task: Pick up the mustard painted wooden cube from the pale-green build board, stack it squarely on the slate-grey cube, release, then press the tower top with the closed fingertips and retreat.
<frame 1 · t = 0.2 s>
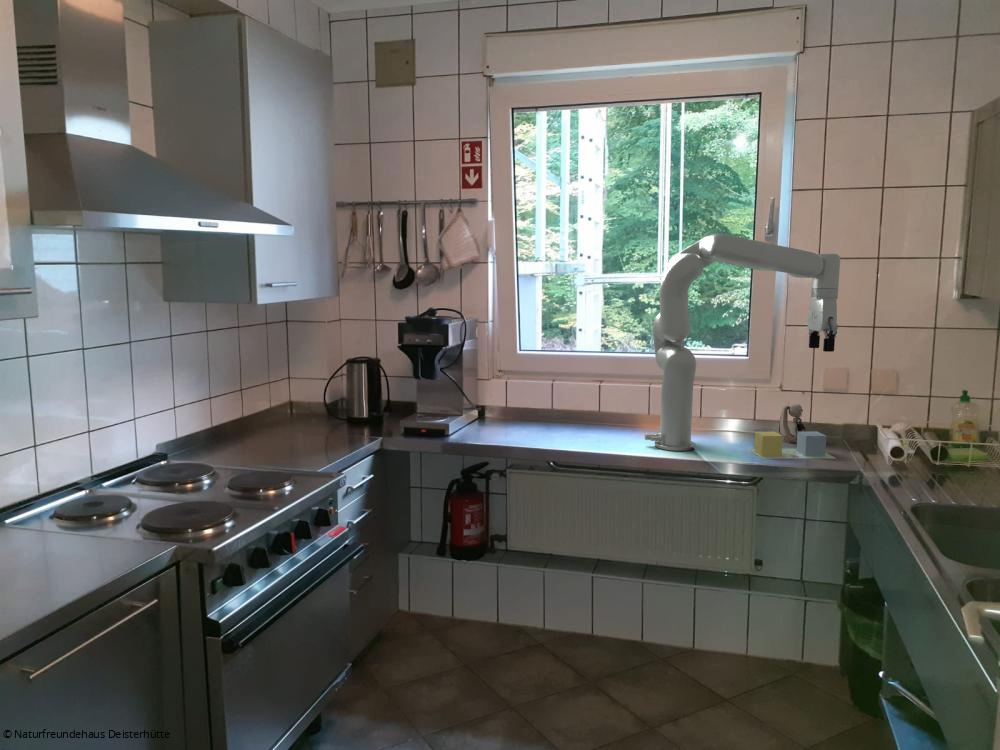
hand: (821, 349, 240), 31 cm above the countertop, fingers open, 9 cm apart
toy: (792, 444, 248), on the countertop
board: (790, 457, 230), on the countertop
base brick: (810, 453, 231), point 1 cm above the countertop, touching board
brick: (767, 453, 230), point 1 cm above the countertop, touching board
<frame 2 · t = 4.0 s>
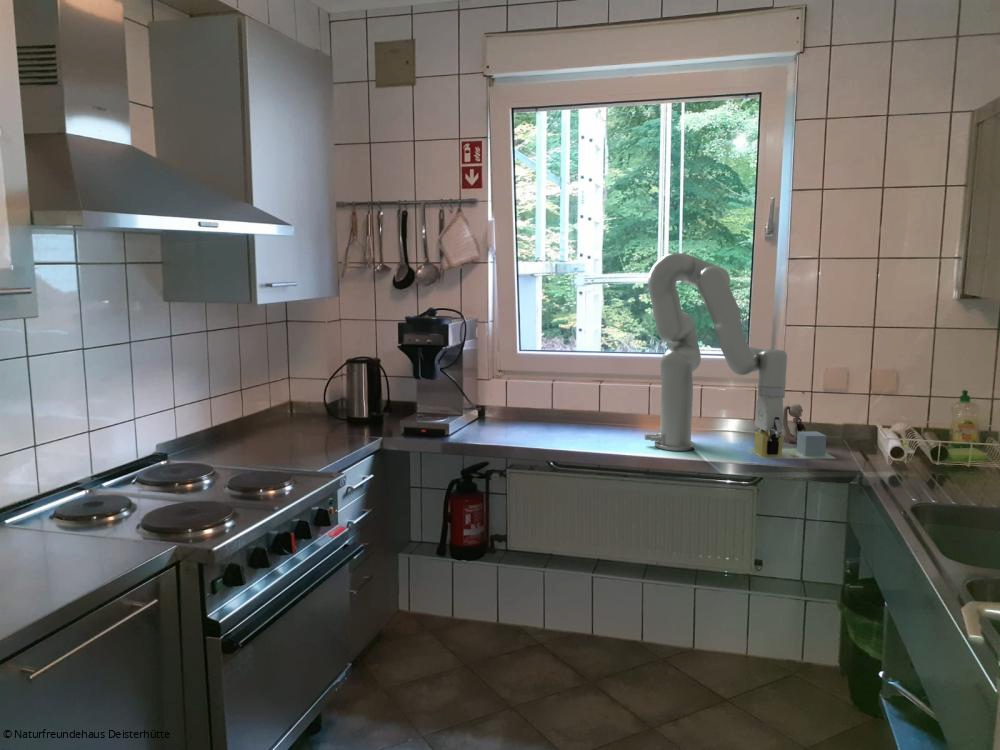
hand: (767, 451, 230), 2 cm above the countertop, fingers closed on brick, 6 cm apart
brick: (767, 453, 230), point 1 cm above the countertop, touching board, gripper
everything else where it was.
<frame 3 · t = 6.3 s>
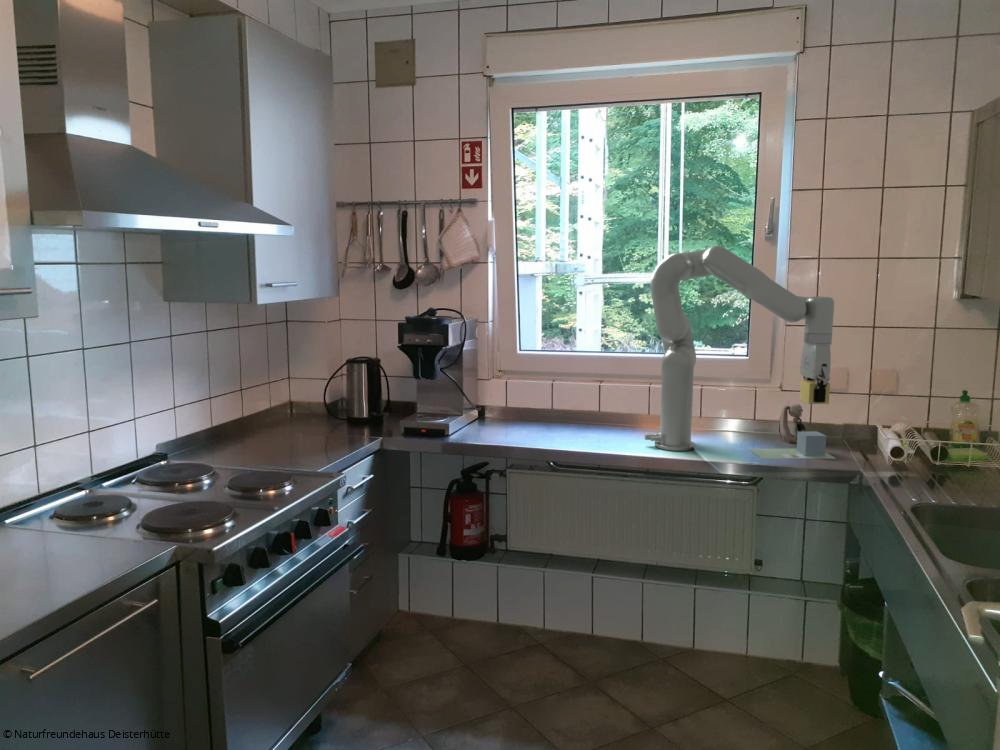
hand: (814, 399, 228), 18 cm above the countertop, fingers closed on brick, 6 cm apart
brick: (814, 402, 228), point 17 cm above the countertop, touching gripper
everything else where it was.
when the fingers open (9 cm above the countertop, at t = 8.6 s): brick drops 1 cm, resting on base brick.
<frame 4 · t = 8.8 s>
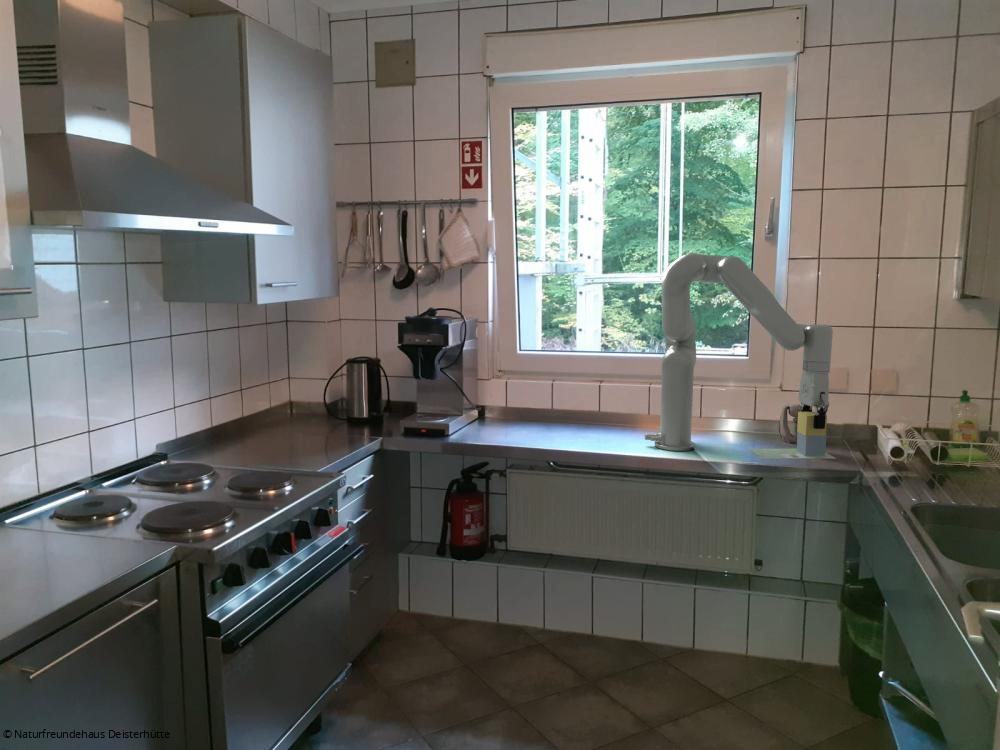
hand: (812, 425, 229), 10 cm above the countertop, fingers open, 8 cm apart
base brick: (810, 453, 231), point 1 cm above the countertop, touching board, brick
brick: (811, 433, 230), point 7 cm above the countertop, touching base brick
everything else where it was.
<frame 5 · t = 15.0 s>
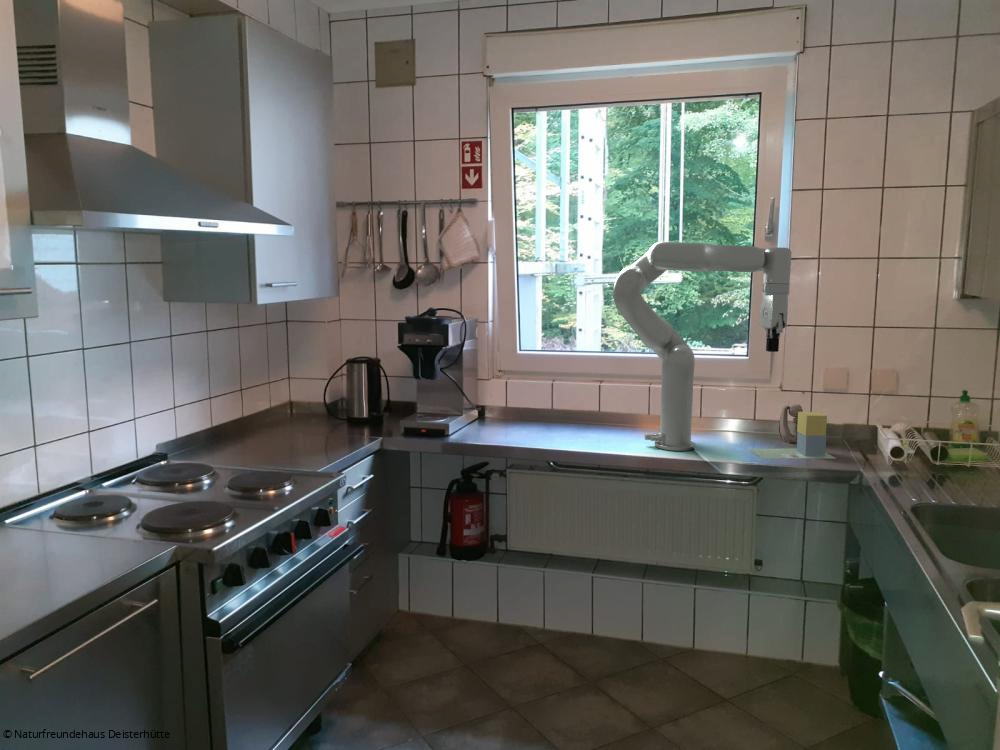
hand: (772, 351, 232), 31 cm above the countertop, fingers closed
nothing on the countertop moved.
at the end: brick 0.2 cm off-centre on the base brick, point 6.0 cm above the base brick's base; brick tilted 0°; base brick moved 0.0 cm from its start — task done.
